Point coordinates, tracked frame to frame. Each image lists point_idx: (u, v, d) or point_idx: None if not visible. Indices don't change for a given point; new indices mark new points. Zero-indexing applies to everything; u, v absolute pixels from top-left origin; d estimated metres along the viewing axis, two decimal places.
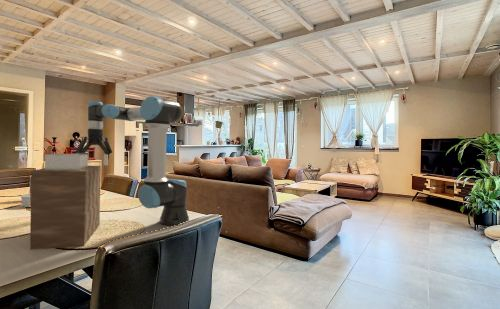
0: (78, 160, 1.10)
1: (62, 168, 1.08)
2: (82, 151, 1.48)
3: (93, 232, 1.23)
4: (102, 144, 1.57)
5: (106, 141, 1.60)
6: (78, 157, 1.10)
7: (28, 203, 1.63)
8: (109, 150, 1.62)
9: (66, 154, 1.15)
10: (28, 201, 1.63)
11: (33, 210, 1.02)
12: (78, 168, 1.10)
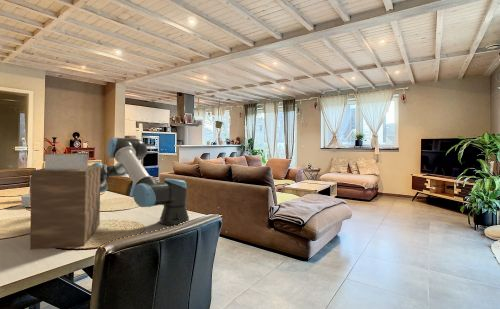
0: (78, 160, 1.10)
1: (62, 168, 1.08)
2: None
3: (93, 232, 1.23)
4: (102, 171, 1.65)
5: (107, 173, 1.67)
6: (78, 157, 1.10)
7: (28, 203, 1.63)
8: (110, 170, 1.63)
9: (66, 154, 1.15)
10: (28, 201, 1.63)
11: (33, 210, 1.02)
12: (78, 168, 1.10)
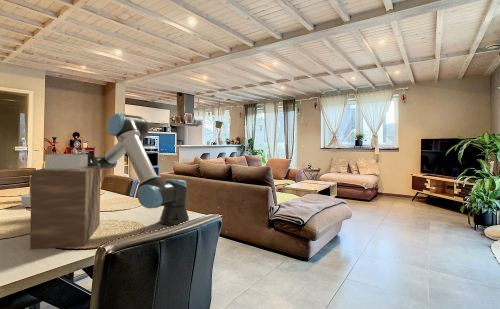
0: (78, 160, 1.10)
1: (62, 168, 1.08)
2: None
3: (93, 232, 1.23)
4: None
5: None
6: (78, 157, 1.10)
7: (28, 203, 1.63)
8: None
9: (66, 154, 1.15)
10: (28, 201, 1.63)
11: (33, 210, 1.02)
12: (78, 168, 1.10)
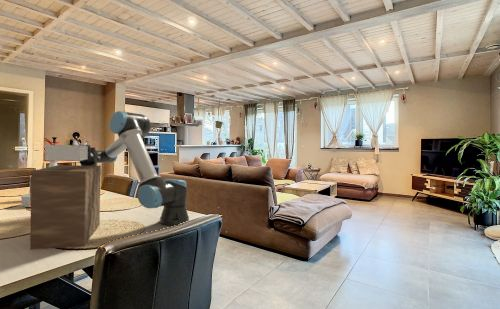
0: (78, 151, 1.10)
1: (62, 158, 1.08)
2: None
3: (93, 232, 1.23)
4: (89, 152, 1.41)
5: None
6: (78, 148, 1.10)
7: (28, 203, 1.63)
8: None
9: (66, 145, 1.15)
10: (28, 201, 1.63)
11: (33, 210, 1.02)
12: (78, 159, 1.10)
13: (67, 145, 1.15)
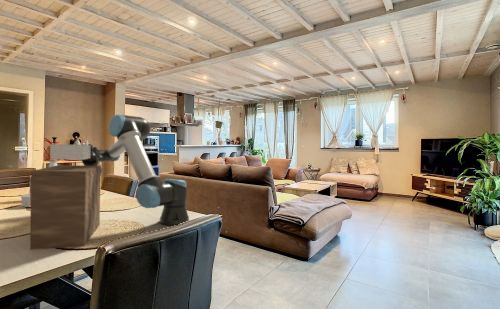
0: (82, 150, 1.15)
1: (66, 157, 1.13)
2: None
3: (93, 232, 1.23)
4: None
5: None
6: (82, 147, 1.15)
7: (28, 203, 1.63)
8: None
9: None
10: (28, 201, 1.63)
11: (33, 210, 1.02)
12: (82, 157, 1.15)
13: None
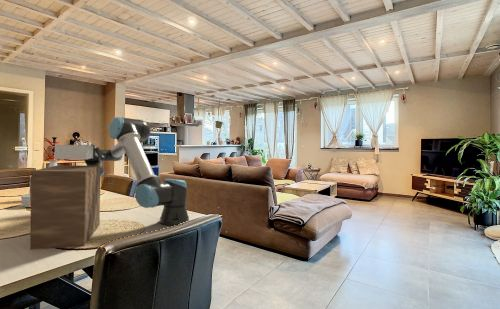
0: (85, 150, 1.19)
1: (70, 157, 1.17)
2: None
3: (93, 232, 1.23)
4: None
5: None
6: (85, 147, 1.19)
7: (28, 203, 1.63)
8: None
9: None
10: (28, 201, 1.63)
11: (33, 210, 1.02)
12: (85, 157, 1.19)
13: None
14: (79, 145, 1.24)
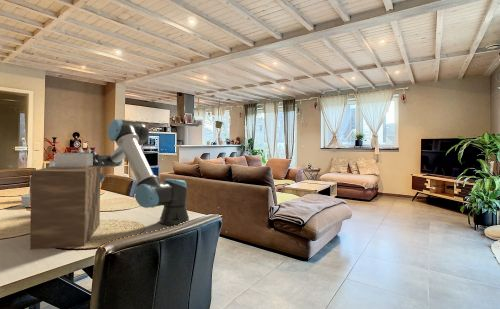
0: (84, 158, 1.19)
1: (70, 166, 1.18)
2: None
3: (93, 232, 1.23)
4: None
5: None
6: (84, 156, 1.19)
7: (28, 203, 1.63)
8: None
9: (73, 153, 1.25)
10: (28, 201, 1.63)
11: (33, 210, 1.02)
12: (85, 166, 1.19)
13: (74, 153, 1.24)
14: None
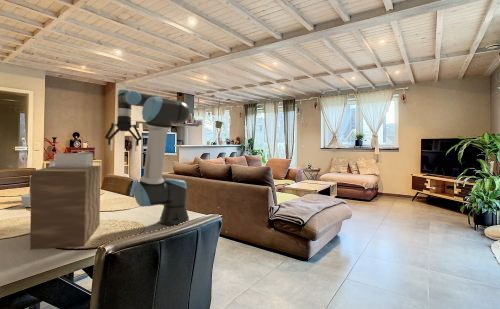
0: (85, 159, 1.19)
1: (70, 166, 1.18)
2: None
3: (93, 232, 1.23)
4: (129, 130, 1.63)
5: (134, 128, 1.64)
6: (85, 156, 1.19)
7: (28, 203, 1.63)
8: None
9: None
10: (28, 201, 1.63)
11: (33, 210, 1.02)
12: (85, 166, 1.19)
13: None
14: None
